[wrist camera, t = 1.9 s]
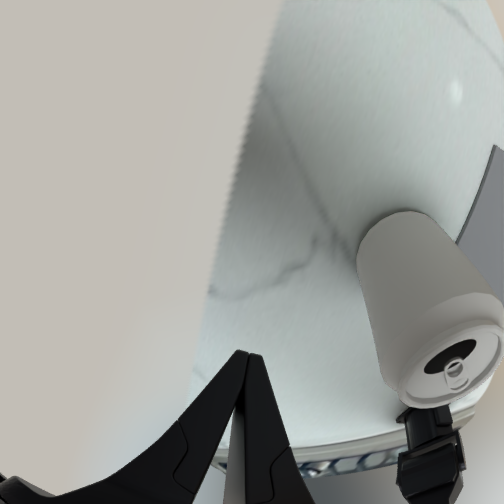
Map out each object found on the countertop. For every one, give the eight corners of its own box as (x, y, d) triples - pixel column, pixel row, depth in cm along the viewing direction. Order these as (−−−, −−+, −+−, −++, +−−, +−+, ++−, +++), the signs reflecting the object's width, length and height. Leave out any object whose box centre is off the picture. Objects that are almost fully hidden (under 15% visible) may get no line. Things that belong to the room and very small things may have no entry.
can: (419, 187, 18) (517, 285, 7) (451, 261, 20) (517, 370, 9) (335, 241, 21) (360, 377, 10) (379, 305, 23) (408, 430, 12)
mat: (482, 354, 24) (483, 356, 24) (396, 341, 25) (397, 344, 24) (567, 207, 14) (569, 208, 14) (493, 145, 14) (496, 145, 14)
